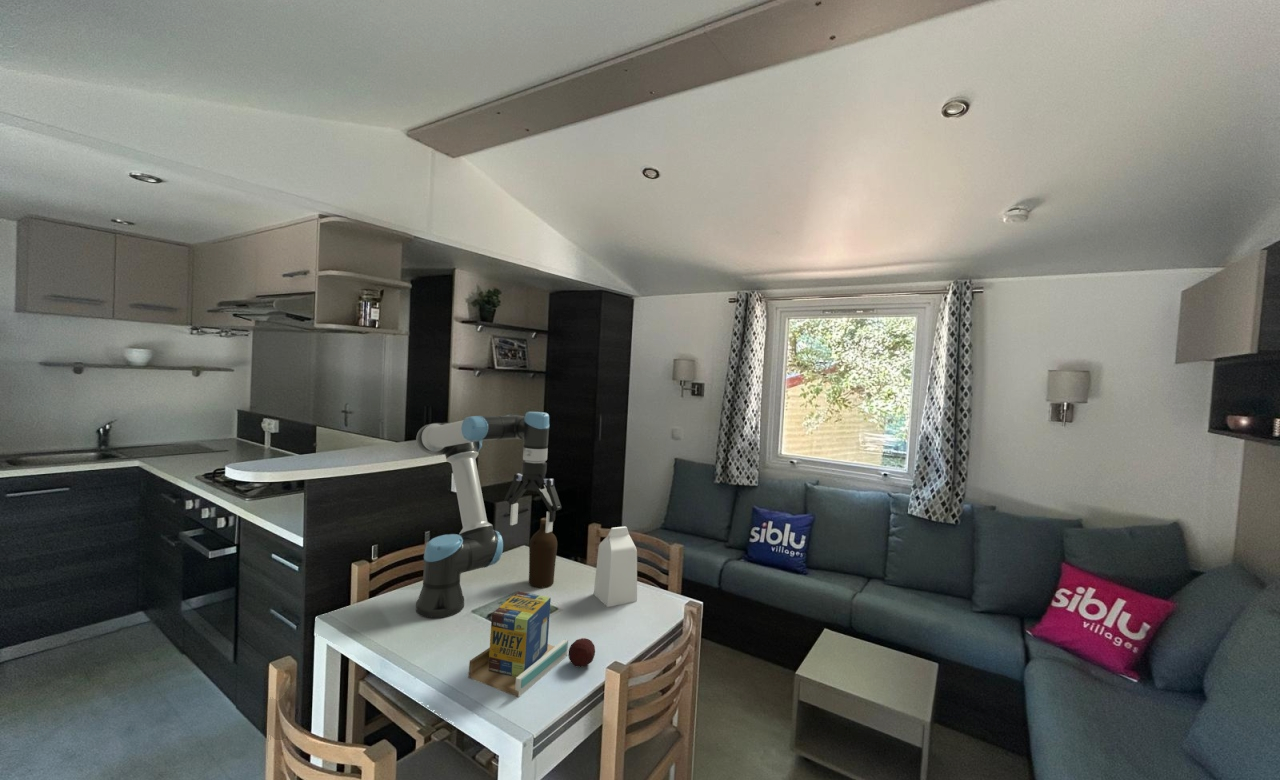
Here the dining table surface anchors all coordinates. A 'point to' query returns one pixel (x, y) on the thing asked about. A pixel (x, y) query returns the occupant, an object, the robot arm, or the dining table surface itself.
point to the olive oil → (542, 557)
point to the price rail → (541, 667)
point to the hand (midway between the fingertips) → (530, 528)
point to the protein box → (519, 633)
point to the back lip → (479, 661)
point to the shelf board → (498, 677)
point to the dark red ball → (581, 652)
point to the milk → (616, 569)
